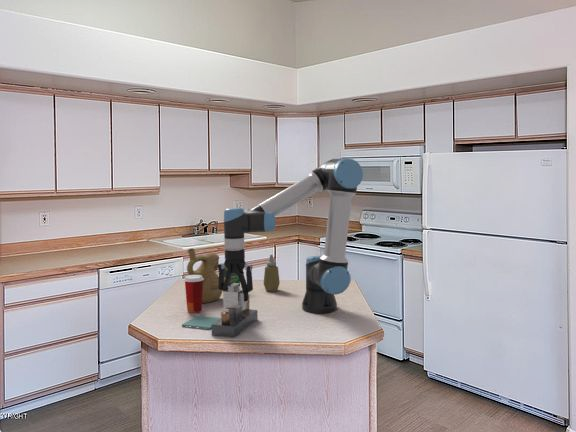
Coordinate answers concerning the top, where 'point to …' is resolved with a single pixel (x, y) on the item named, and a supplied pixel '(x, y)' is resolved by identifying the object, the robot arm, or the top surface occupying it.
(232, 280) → the coffee box
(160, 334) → the top surface
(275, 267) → the squeeze bottle
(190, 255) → the ceramic vessel
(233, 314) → the hand plane
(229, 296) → the lever cap
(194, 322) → the rubber mat
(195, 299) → the coffee cup
